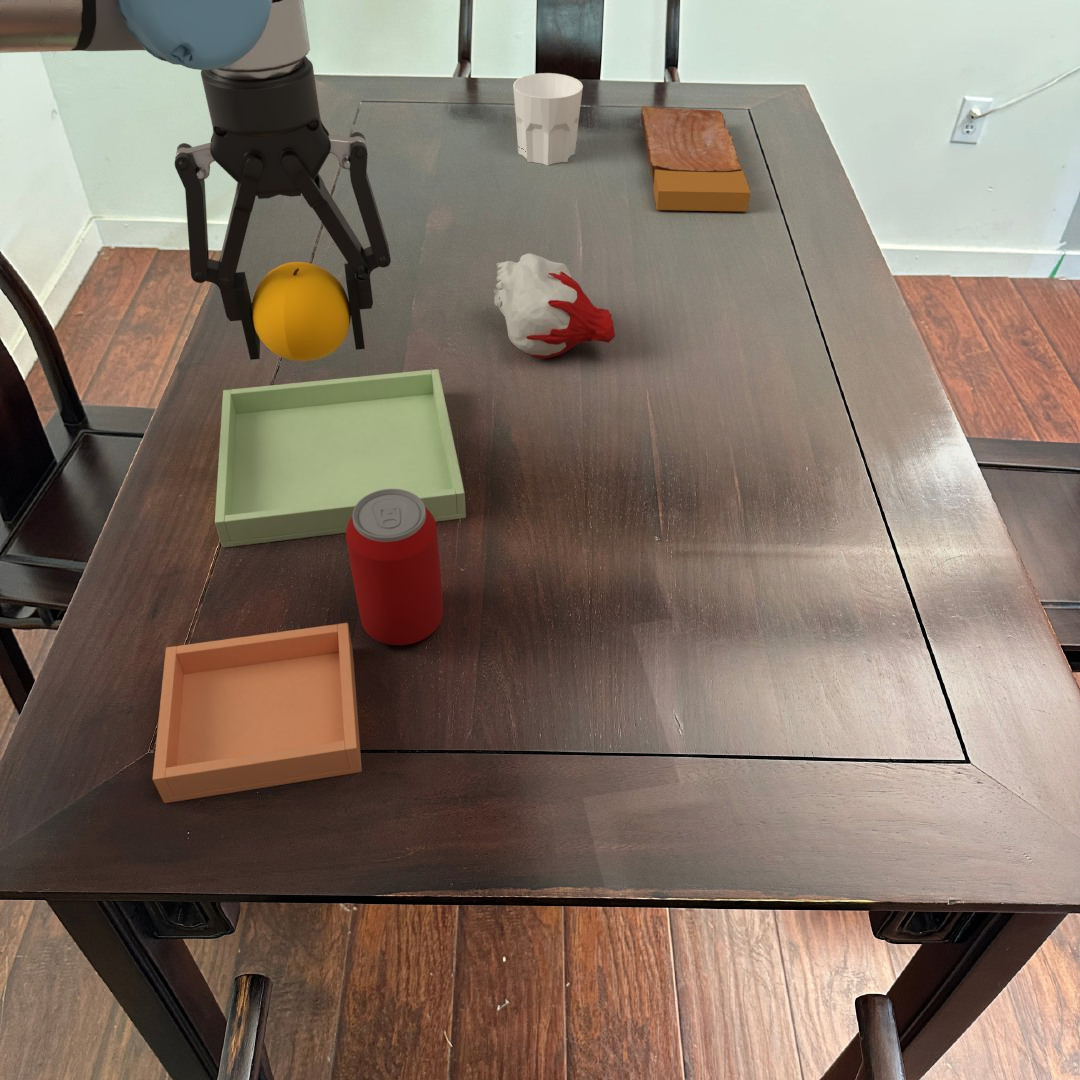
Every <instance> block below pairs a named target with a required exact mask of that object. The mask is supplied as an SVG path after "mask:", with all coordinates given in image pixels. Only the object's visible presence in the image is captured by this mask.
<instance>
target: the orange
mask: <svg viewBox="0 0 1080 1080" xmlns="http://www.w3.org/2000/svg"><path fill="white" fill-rule="evenodd" d="M346 292H347V291H345V288H344V286H343V285H342V283H341V282H340V281H339V280H338V278H337V277H336V276H335V275H333V274H332V273H330V272H329V271H328V270H326V269H325V268H324V267H321V266H319V265H316V264H313V263H309V262H304V261H291V262H287V263H284V264H280V265H279V266H276V267H274V268H273V269H271V270H270V271H268V273H267V274H266V275H265V276H263V278H262V279H261V280H260V282H259V283H258V285H257V287H256V290H255V292H254V295H253V297H252V300H251V302H252V309H251V312H252V319H253V324H254V327H255V331H256V333H257V335H258V337H259V339H260V342H261V343H262V344H263V345H264V346H265V347H267V349H268V350H270V351H271V352H272V353H273V354H275V355H276V356H279V357H281V358H283V359H285V360H291V361H296V362H308V361H314V360H319V359H321V358H324V357H328V356H330V355H331V354H332V353H333V352H335V351H336V350H337V349H339V348H340V346H341V345H342V344H343V343H344V341H345V340H346V337H347V336H348V333H349V330H350V329H349V328H350V325H351V321H352V319H351V312H350V305H349V298H348V294H347V293H346Z"/></svg>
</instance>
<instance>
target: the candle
mask: <svg viewBox="0 0 1080 1080" xmlns="http://www.w3.org/2000/svg"><path fill="white" fill-rule="evenodd" d="M496 266H497V267H496V268H497V270H496V273H497V277H496V279H495V282H496V284H495V288H496V289H493V294H494V295H493V299H494V305H495V307H497V308H498V309H499V311H500V312H501V313H502V315H503V316H504V319H505V323H506V329H507V336H508V340H509V341H510V342H511V343H512V344H513V345H514V346H515V347H516V348H518V350H520V351H522V352H524V353H525V354H528V355H530V356H531V357H532V358H537V359H549V358H553V357H554V358H555V357H557V356H561V355H563V354H564V353H566V352H568V351H569V350H571V349H572V348H574V347H575V346H577V345H579V344H582V343H587V342H592V341H595V342H603V343H608V344H609V343H610V342H611V341H612V340H613V339H614V338H615V337H616V331H615V325H614V320H613V319H612V313H611V311H610V310H609V309H607V308H606V309H605V308H600V307H599V308H598V307H597V306H595V305H594V304H593V303H592V301H591V300H590V298H589V297H588V295H586V293H585V292H584V290H583V288H582V287H581V285H580V284H579V283H578V282H577V281H576V280H575V279H573V278H572V275H571V272H570V270H569V268H568V267H567V265H566V264H565V263H564V262H555V261H551V260H549V259H547V258H544V257H542V256H540V255H537V254H534V253H529V252H528V253H525V254H522V255H521V256H520V259H519V261H518V262H515V261H512V260H507V261H503V262H502V261H501V262H496Z"/></svg>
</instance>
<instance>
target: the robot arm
mask: <svg viewBox="0 0 1080 1080" xmlns="http://www.w3.org/2000/svg"><path fill="white" fill-rule="evenodd" d="M304 3H305V1H304V0H0V54H7V53H8V54H10V53H11V54H12V53H45V52H46V53H47V52H78V51H79V52H80V51H82V52H117V51H118V52H121V51H123V52H124V51H126V52H127V51H146V52H147V53H149V54H150V55H151V56H153V57H154V58H156V59H158V60H160V61H163V62H167V63H170V64H172V65H178V66H183V67H185V68H187V69H192V70H199V71H200V77H201V81H202V85H203V91H204V94H205V99H206V103H207V106H208V107H207V109H208V113H209V117H210V121H211V127H212V134H211V137H210V142H208V143H207V142H206V143H203V144H199V145H196V146H195V145H194V146H192V145H191V144H189V143H186V142H182V143H180V144H178V146H177V148H176V152H175V159H174V164H173V165H174V168H175V170H176V172H177V174H178V177H179V179H180V182H181V183H182V185H183V188H184V193H185V208H186V222H187V237H188V238H187V239H188V249H189V250H188V252H189V266H190V277H191V279H192V281H194V282H195V283H198V284H204V283H206V282H207V283H212V284H214V285H216V286H217V287H218V289H219V291H220V292H219V293H220V296H221V300H222V305H223V308H224V312H225V317H226V318H227V319H228V320H229V321H230V322H239V321H240V322H241V325H242V330H243V333H244V339H245V343H246V346H247V352H248V355H249V359H250V361H251V360H261V340H260V338H259V337H258V335H257V333H256V331H255V327H254V324H253V319H252V312H251V309H252V298H251V293H250V289H249V285H248V280H247V275H246V271H238V272H237V269H238V267H239V266H238V265H239V261H240V258H241V254H242V249H243V246H244V242H245V238H246V233H247V230H248V226H249V223H250V218H251V215H252V212H253V209H254V205H255V201H256V197H257V199H258V200H264V199H271V198H274V197H276V196H284V197H290V198H291V197H303V198H304V200H305V202H306V203H307V204H308V206H309V207H310V208H311V209H312V210H313V211H314V213H315V214H316V216H317V217H318V219H319V221H320V222H321V223H322V225H323V227H324V229H325V230H326V231H327V233H328V234H329V236H330V237H331V239H332V240H333V242H334V243H335V245H336V247H337V248H338V250H339V251H340V253H341V255H342V256H343V257H344V259H345V261H346V262H347V263H344V265H343V266H344V274H345V284H346V290H347V291H346V292H347V298H348V300H349V305H350V312H351V326H352V331H353V332H352V333H353V338H354V347H355V350H356V351H357V350H358V351H359V350H365V349H366V347H365V338H364V330H363V323H362V322H363V321H362V315H361V310H369V309H372V308H373V305H374V300H373V291H372V285H371V273H372V272H373V271H374V270H376V269H377V268H383V269H384V268H387V267H389V266H390V265H391V263H392V259H391V251H390V247H389V242H388V240H387V236H386V233H385V229H384V226H383V223H382V219H381V215H380V212H379V208H378V206H377V201H376V199H375V194H374V192H373V189H372V185H371V182H370V178H369V175H368V172H367V169H368V168H367V167H368V157H369V156H368V155H369V154H368V153H369V152H368V148H367V141H366V137H365V135H364V134H363V133H362V132H359V131H355V132H353V133H351V134H350V136H344V135H334V134H330V133H329V131H328V129H327V128H326V127H325V126H324V124H323V122H322V119H321V112H320V106H319V105H320V104H319V99H318V93H317V86H316V79H315V71H314V65H313V62H312V61H311V60H310V59H309V58H308V57H307V55H308V54H309V52H310V50H311V47H310V45H311V44H310V38H309V32H308V24H307V17H306V10H305V4H304ZM330 154H332V155H334V156H335V157H336V159H337V161H338V165H339V166H340V167H341V169H344V170H347V171H349V178H350V183H351V187H352V190H353V194H354V197H355V200H356V204H357V206H358V209H359V213H360V217H361V220H362V222H363V226H364V230H365V232H366V236H367V239H368V242H369V246H367V247H366V248H365V247H364V246H363V245H362V243H361V242H360V240H359V238H358V236H357V235H356V234H355V232H354V230H353V229H352V227H351V226H350V224H349V222H348V221H347V219H346V218H345V216H344V215H343V212H342V211H341V209H340V208H339V206H338V204H337V203H336V201H335V200H334V198H333V197H332V195H331V194H330V192H329V190H328V189H327V187H326V185H325V182H324V180H323V178H322V176H321V175H320V173H319V172H320V171H321V169H322V167H323V165H324V164H325V162H326V161H327V159H328V157H329V155H330ZM213 162H216V163H217V164H218V165H219V166H220V168H222V170H224V171H225V172H226V173H227V174H228V176H230V177H231V179H233V180H234V181H235V182H236V187H235V193H234V197H233V202H232V206H231V210H230V214H229V219H228V223H227V226H226V231H225V234H224V239H223V243H222V247H221V251H220V252H221V253H220V256H219V259H218V260H217V259H212V258H210V254H209V237H208V235H209V234H208V216H207V199H206V182H205V180H207V179H208V178H209V176H210V172H211V164H212V163H213Z"/></svg>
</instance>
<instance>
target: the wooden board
mask: <svg viewBox="0 0 1080 1080" xmlns="http://www.w3.org/2000/svg"><path fill="white" fill-rule="evenodd" d="M640 109H641V115H640V116H641V117H640V120H641V121H640V122H641V127H642V131H643V137H644V141H645V147H646V156H647V161H648V165H649V170H650V175H651V180H652V181H651V182H652V185H653V188H652V190H653V191H652V192H653V197H654V202H655V207H656V210H657V211H693V212H694V211H701V212H748V210H749V204H750V198H751V190H750V188H749V185H748V182H747V178H746V175H745V172H744V170H742V169H743V168H742V165H741V163H740V161H739V157H738V153H737V151H736V146H735V144H734V143H733V139H734V137H733V136H732V135H730V131H729V129H728V127H727V126H726V119H725V117H724V114H723V112H722V111H720V110H715V109H714V110H711V109H696V108H695V109H694V108H670V107H669V108H664V107H655V106H653V107H652V106H642V107H641V108H640Z"/></svg>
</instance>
